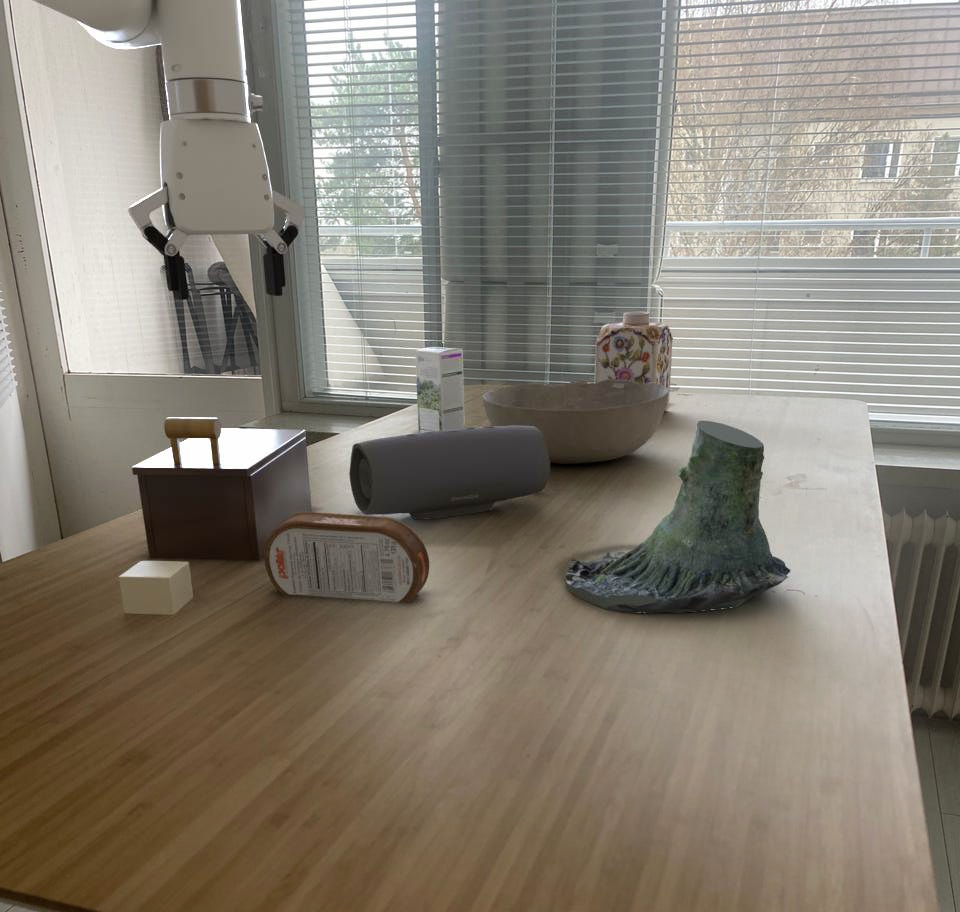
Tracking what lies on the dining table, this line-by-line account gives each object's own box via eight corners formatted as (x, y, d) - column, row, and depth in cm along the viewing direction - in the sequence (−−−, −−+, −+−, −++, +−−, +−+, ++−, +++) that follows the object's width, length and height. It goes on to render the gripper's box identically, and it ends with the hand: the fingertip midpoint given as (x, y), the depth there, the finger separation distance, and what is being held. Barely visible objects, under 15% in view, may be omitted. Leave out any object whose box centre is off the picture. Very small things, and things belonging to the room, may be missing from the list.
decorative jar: (670, 410, 186) (676, 310, 179) (654, 420, 176) (660, 315, 169) (609, 406, 190) (613, 309, 183) (590, 416, 180) (594, 314, 173)
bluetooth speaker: (516, 493, 127) (517, 415, 123) (551, 509, 119) (553, 427, 115) (350, 515, 118) (344, 432, 114) (376, 534, 110) (371, 445, 106)
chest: (260, 571, 98) (250, 475, 95) (150, 568, 100) (136, 473, 96) (312, 519, 116) (306, 436, 113) (218, 517, 118) (209, 435, 114)
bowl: (687, 446, 154) (691, 381, 150) (628, 483, 131) (632, 408, 127) (529, 433, 165) (529, 372, 162) (450, 465, 143) (448, 396, 139)
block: (126, 625, 85) (118, 576, 83) (147, 607, 89) (140, 560, 87) (175, 626, 84) (168, 577, 83) (195, 608, 89) (189, 561, 87)
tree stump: (601, 550, 105) (652, 386, 97) (779, 621, 99) (849, 451, 91) (532, 593, 90) (586, 403, 82) (737, 681, 83) (817, 483, 75)
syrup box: (466, 438, 162) (464, 347, 156) (441, 443, 158) (439, 351, 152) (441, 434, 165) (439, 345, 160) (416, 439, 161) (413, 348, 156)
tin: (431, 606, 89) (429, 515, 85) (422, 618, 86) (418, 525, 82) (278, 594, 92) (269, 507, 88) (263, 606, 89) (254, 516, 86)
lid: (247, 476, 94) (242, 422, 92) (132, 475, 95) (124, 421, 93) (305, 436, 113) (302, 390, 111) (209, 435, 114) (204, 389, 112)
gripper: (283, 115, 100) (296, 292, 106) (106, 106, 92) (133, 298, 98) (309, 106, 93) (322, 295, 100) (123, 96, 86) (150, 302, 92)
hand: (228, 297), depth 99 cm, fingers open, 9 cm apart
